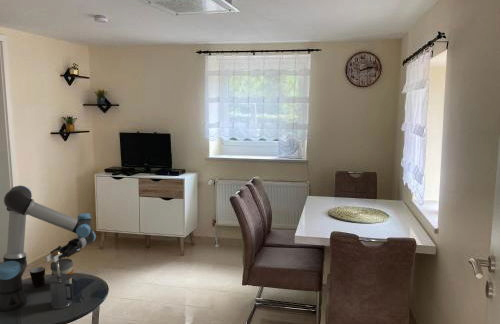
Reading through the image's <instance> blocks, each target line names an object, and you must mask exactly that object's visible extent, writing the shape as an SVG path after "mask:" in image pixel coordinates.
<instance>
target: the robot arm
mask: <svg viewBox="0 0 500 324" xmlns="http://www.w3.org/2000/svg"><path fill="white" fill-rule="evenodd" d="M32 196H33V194H32V191H31V190H30V188H29V187H27V186H25V185H16V186H14V187H11V188H10V190H9V191H7V192H6V193H5V195H4V197H3V204H4V206H5V207H6V211H7V212H8V213H9V214H8V231H7V245H6V246H7V247H6V252H5V253H4V254H3V258H2V259H3V260H2V263H0V311H1V312H7V311H8V312H9V311H13V310H17V309H20V308H21V307H23V306H25V305H26V304H28V295H27V294H26V293H25V289H24V288H23V279H22V277H23V275H24V274H25V271H26V269H27V267H28V266H27V265H28V262H27V261H28V260H27V253H26V252H25V250H24V249H25V238H26V237H25V235H26V223H27V222H26V221H27V216H30V217H33V218H36V219H38V220H41V221H43V222H45V223H48V224H51V225H54V226H56V227H59V228H61V229H64V230H66V231H69V232H71V233H74V234H76V235H77V236H76V237H74V238H72V239H71V240H69V241H68V242H67V244H65V245H63V246H62V245H59V246H58V247H55V249H53V250H51V251H50V254H48V255H47V256H45V260H46V261H45V262H46V263H47V262H50V261H52V260H53V261H52V262H56V261H58V260H59V259H64V258H69V257H71V256H73V255H75V254H76V253H79V252H81V250H82V249H83V248H85V247H87V246H89V245H90V244H92V243H93V242H95V240H96V239H97V238H96V237H97V235H96V233H95V231H93V228H92V216H91V214H90V213H88V212H85V213H80V214H78V215H77V218H75V217H73V216H70V215H68V214H66V213H63V212H60V211H58V210H55V209H52V208H50V207H48V206H45V205H43V204H41V203H38V202H35V199H33V198H32ZM56 250H60V254H58V255H56V256H55V257H53V251H56Z"/></svg>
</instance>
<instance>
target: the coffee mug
mask: <svg viewBox="0 0 500 324" xmlns="http://www.w3.org/2000/svg"><path fill="white" fill-rule="evenodd" d="M29 275H30V278H31V283H32V287H33V288H40V287H43V286H45V285H46V283H45V282H44V281H45V280H46V267H44V266H37V267H33V268H31V269H29Z"/></svg>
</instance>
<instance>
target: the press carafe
mask: <svg viewBox="0 0 500 324" xmlns="http://www.w3.org/2000/svg"><path fill="white" fill-rule="evenodd" d="M72 276H74V273H73V274H63V273H60V278H58V274H57V273H56V274H54V275H53V276H52V275H51V276H49V278H47V279H45V281H44V282H45V284H49V293H50V303H51V305H50V307H51V309H53V310H62V309H66V308H68V307H70V306H71V305H72V304H73V303H72V301H74V299H75V298H74V296H75V295H74V288H73V287H74V285H73V283H72V284H70V282H69V279H70V278H71V277H72ZM72 278H73V277H72Z"/></svg>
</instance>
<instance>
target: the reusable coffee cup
mask: <svg viewBox="0 0 500 324" xmlns="http://www.w3.org/2000/svg"><path fill="white" fill-rule="evenodd" d="M73 263H74V262H73V260H72V258H61V260H60V261H59V270H60V273H63V274H73V276H74V268H73V266H74V264H73ZM50 270H51V276H53V275H54V274H56V273H57V264H56V262H53V261H52V262H50ZM73 276H72V277H71V278H70V279H69V282H70V284H73V283H72V281H73V280H72V279H73Z"/></svg>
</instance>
